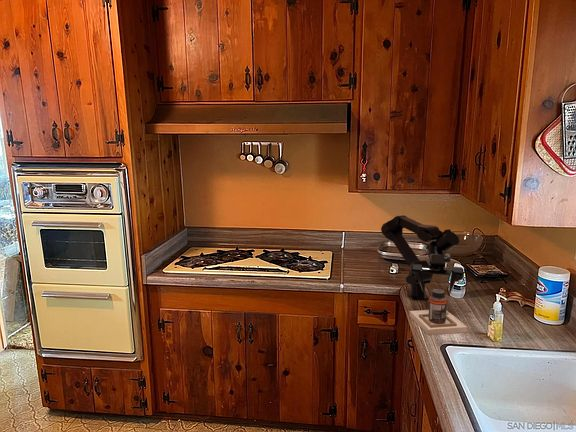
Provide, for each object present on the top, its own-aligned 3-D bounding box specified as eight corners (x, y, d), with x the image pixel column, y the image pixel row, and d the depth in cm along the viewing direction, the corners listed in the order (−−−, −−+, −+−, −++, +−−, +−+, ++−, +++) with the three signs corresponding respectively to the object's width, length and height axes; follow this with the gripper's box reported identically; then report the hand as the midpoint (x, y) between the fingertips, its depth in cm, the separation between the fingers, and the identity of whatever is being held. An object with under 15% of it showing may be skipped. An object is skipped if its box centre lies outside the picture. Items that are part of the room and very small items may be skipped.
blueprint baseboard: (409, 315, 163) (409, 308, 162) (444, 313, 164) (445, 306, 164) (428, 335, 147) (428, 326, 146) (466, 332, 149) (467, 324, 148)
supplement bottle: (432, 316, 157) (433, 286, 155) (448, 320, 154) (450, 290, 152) (425, 321, 153) (427, 291, 151) (442, 326, 149) (443, 295, 147)
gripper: (412, 243, 163) (411, 280, 155) (464, 246, 158) (466, 285, 150) (411, 257, 172) (410, 293, 164) (461, 261, 167) (462, 298, 159)
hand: (436, 292), depth 159 cm, fingers open, 9 cm apart
